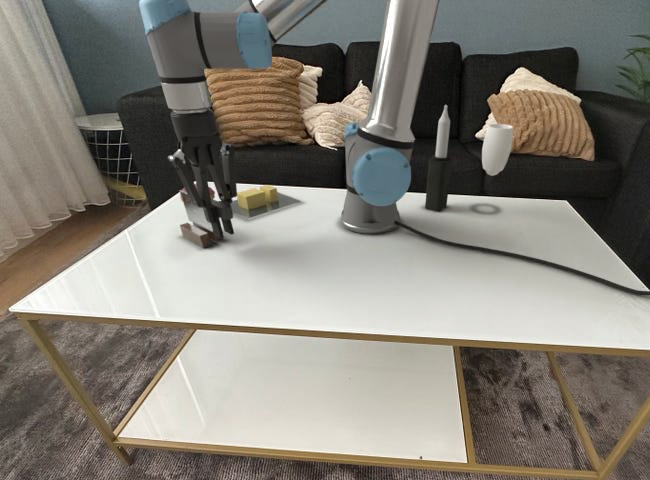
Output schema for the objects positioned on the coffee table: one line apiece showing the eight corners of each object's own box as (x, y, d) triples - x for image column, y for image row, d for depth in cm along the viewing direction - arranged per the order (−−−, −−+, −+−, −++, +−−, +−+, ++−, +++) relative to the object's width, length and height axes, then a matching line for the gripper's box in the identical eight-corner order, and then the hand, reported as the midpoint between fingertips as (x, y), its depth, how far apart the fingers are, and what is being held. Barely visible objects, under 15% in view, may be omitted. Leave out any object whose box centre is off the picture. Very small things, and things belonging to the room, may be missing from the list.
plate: (301, 203, 116) (301, 201, 116) (248, 220, 105) (247, 218, 105) (271, 191, 123) (271, 189, 122) (218, 207, 112) (218, 205, 112)
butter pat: (278, 200, 115) (276, 188, 113) (271, 203, 114) (269, 190, 112) (268, 197, 118) (266, 184, 115) (261, 199, 116) (259, 186, 114)
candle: (432, 203, 118) (441, 102, 102) (447, 206, 116) (460, 104, 100) (423, 208, 115) (431, 105, 98) (439, 212, 113) (450, 107, 96)
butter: (266, 204, 113) (264, 191, 111) (248, 210, 109) (245, 197, 107) (257, 200, 115) (254, 187, 113) (238, 206, 112) (236, 193, 109)
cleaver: (239, 241, 88) (230, 206, 83) (231, 244, 87) (222, 209, 82) (193, 219, 97) (183, 186, 92) (186, 221, 96) (176, 188, 91)
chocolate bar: (223, 241, 96) (220, 229, 94) (203, 248, 93) (199, 235, 91) (203, 230, 100) (199, 218, 98) (183, 237, 97) (179, 225, 95)
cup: (467, 207, 116) (479, 124, 102) (486, 202, 119) (500, 122, 105) (485, 215, 111) (500, 130, 98) (504, 210, 114) (521, 127, 101)
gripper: (216, 102, 80) (243, 220, 95) (141, 112, 71) (183, 240, 86) (238, 106, 76) (262, 228, 91) (161, 118, 67) (202, 250, 83)
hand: (224, 234), depth 89 cm, fingers closed on cleaver, 2 cm apart
